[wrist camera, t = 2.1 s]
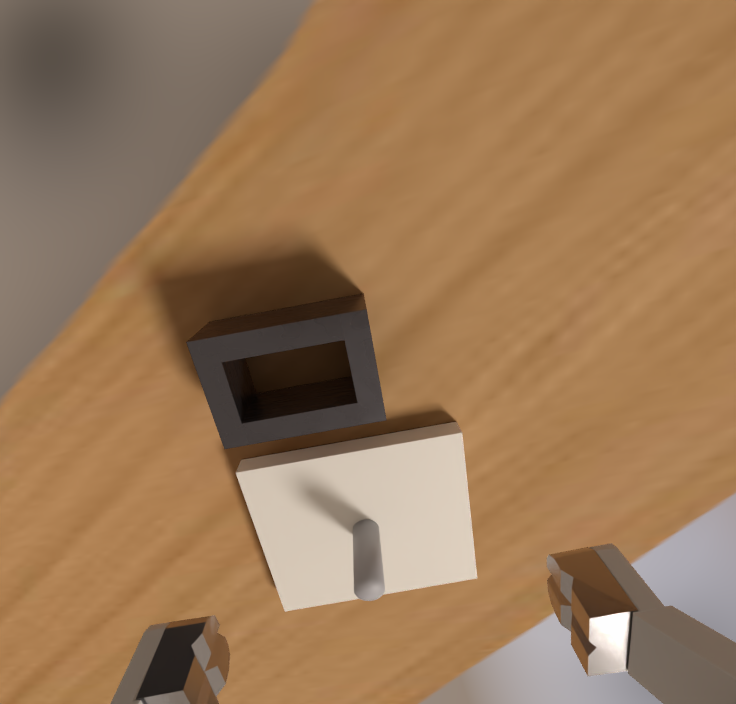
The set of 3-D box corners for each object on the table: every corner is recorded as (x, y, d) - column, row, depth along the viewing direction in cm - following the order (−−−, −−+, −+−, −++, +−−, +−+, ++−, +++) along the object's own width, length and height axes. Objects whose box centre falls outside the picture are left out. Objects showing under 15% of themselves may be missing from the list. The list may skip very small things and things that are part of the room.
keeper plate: (456, 421, 29) (485, 479, 23) (471, 562, 34) (499, 641, 28) (241, 459, 29) (213, 527, 23) (287, 594, 34) (274, 679, 28)
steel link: (363, 293, 25) (366, 309, 22) (381, 390, 28) (386, 420, 24) (209, 321, 26) (186, 342, 22) (240, 416, 28) (224, 449, 24)
